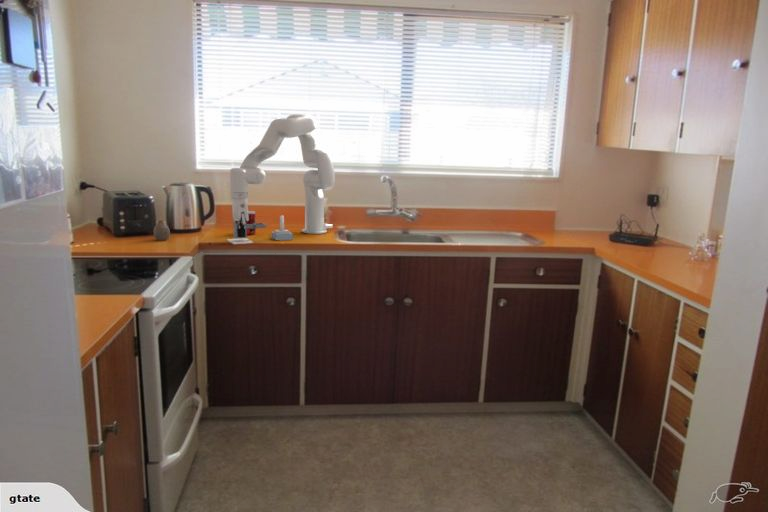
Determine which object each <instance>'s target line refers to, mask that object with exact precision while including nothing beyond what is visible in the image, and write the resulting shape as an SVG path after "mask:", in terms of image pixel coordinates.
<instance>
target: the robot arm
mask: <svg viewBox="0 0 768 512" xmlns="http://www.w3.org/2000/svg"><path fill="white" fill-rule="evenodd" d="M316 128H317V120H316V118H315V117H314V116H313V115H312V114H306V113H305V114H302V113H301V114H299V113H298V114H291V115H288V116H287V117H286V118H275V119H274V120H272V121H271V122H270V123H269V125H268V127H267V130H266V131H265V133H264V135H263V137H262V138H261V141H260V143H259V144H258V145H257V146H256V147H255V148H254V149H252V150H251V151H250V152H249V153H248V154H247V155H246V157H245V158H243V161H242V163H241V164H240V167H232V168H230V171H229V187H230V188H229V189H230V194H229V195H230V200H232V202H231V203H232V205H231V206H232V208H231V209H232V210H231V211H232V219H233V221H234V222H238V227H239V228H238V237H245V223H246V222H245V221H248V220H249V218H248V211H249V207H248V206H249V205H248V200H249V194H248V193H249V192H248V191H249V187H248V185H260V184H263V183H264V182H265V180H266V178H267V176H266V173H265V171H264V170H263V169H262V168H260V167H258V166H259V165H261V163H263V162H265V161H266V160H267V159H270V158H272V157H274V156H275V155H276V154H277V153H278V150H279V149H280V146H281V145H282V143H283V141H284V140H285V139H288V138H289V139H292V138H296V137H298V139H299V143H300V149H301V156H302V161H303V164H304V165H305V166H306V167H308V168H313V169H309V170H307V171H306V172H305V173H304V174H303V177H302V178H303V179H302V180H303V181H302V182H303V187H304V199H305V200H304V228H302V230H301V232H302V233H303V234H308V235H309V234H311V235H317V234H321V235H322V234H326V233H327V232H328V231H327V229H332V228H334V226H333V224H332V223H331V224H330V223H325V195H324V192H323V191H329V190H332V189H333V188H334V186H335V185H336V184H335V183H336V174H335V167H334V160H333V155H332V154H331V152H330V151H329V150H327V149H326V148H320V146H319V141H318V137H317V134H316V132H315V129H316ZM315 168H316V169H315ZM240 223H241V224H240Z"/></svg>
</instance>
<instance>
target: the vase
mask: <svg viewBox="0 0 768 512" xmlns="http://www.w3.org/2000/svg"><path fill="white" fill-rule="evenodd" d="M170 235H171V231H170V228H169V226H168V225H167V223H166V222H165V221H164V220H161V219H160V220H158V221H157V223H156V224H155V226H154V227H153V237H154V238H155V240H156V241H158V242H161V241H167V240H168V239H169V238H170Z"/></svg>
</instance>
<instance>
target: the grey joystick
mask: <svg viewBox="0 0 768 512" xmlns="http://www.w3.org/2000/svg"><path fill="white" fill-rule="evenodd" d="M270 233H271V239H272V238H273V239H272V240H274V239H275V240H274V241H276V240H280V241H289V240H290V241H293V240H294V234H293V233H292V232H291V231H290V230H288V229H285V216H284V215H279V229H276V230H274V231H271V232H270Z"/></svg>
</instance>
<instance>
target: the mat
mask: <svg viewBox="0 0 768 512" xmlns="http://www.w3.org/2000/svg"><path fill="white" fill-rule="evenodd" d="M226 240H227V241H228V242H229V243H231V244H232V245H244V244H245V245H247V244H254V241H252V240H251V239H249V238H248V237H247V238H238V239H236V238H228V239H226ZM247 240H249V241H247Z"/></svg>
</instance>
